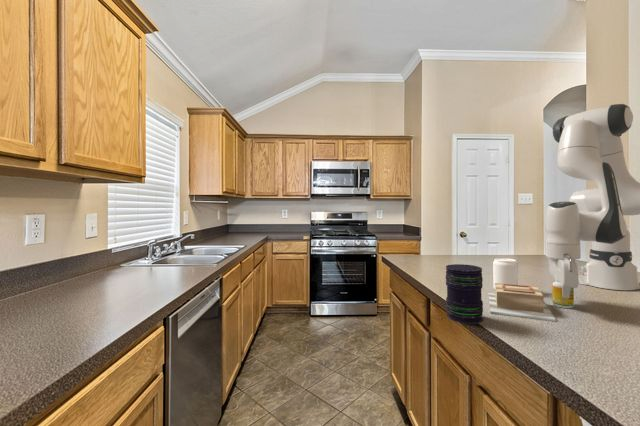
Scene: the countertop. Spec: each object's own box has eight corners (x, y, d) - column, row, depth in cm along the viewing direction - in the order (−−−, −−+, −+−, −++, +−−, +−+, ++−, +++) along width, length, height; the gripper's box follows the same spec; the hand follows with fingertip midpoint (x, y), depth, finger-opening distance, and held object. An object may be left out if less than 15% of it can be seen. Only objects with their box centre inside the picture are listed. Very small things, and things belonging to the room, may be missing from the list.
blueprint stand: (488, 294, 112) (488, 278, 112) (541, 299, 104) (541, 282, 104) (490, 313, 92) (490, 293, 92) (555, 321, 85) (555, 300, 85)
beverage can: (494, 287, 122) (494, 257, 122) (518, 289, 117) (518, 259, 117) (492, 291, 115) (491, 260, 115) (517, 295, 111) (517, 262, 110)
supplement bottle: (556, 302, 101) (556, 273, 101) (576, 306, 97) (576, 276, 97) (549, 305, 98) (549, 276, 98) (570, 309, 94) (569, 279, 94)
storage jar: (446, 321, 87) (446, 269, 86) (445, 310, 96) (444, 263, 96) (486, 325, 83) (485, 271, 83) (480, 313, 92) (479, 265, 92)
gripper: (585, 257, 87) (585, 305, 87) (566, 248, 105) (567, 288, 105) (557, 256, 90) (558, 302, 90) (544, 247, 108) (544, 286, 108)
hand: (562, 294), depth 98 cm, fingers closed on supplement bottle, 5 cm apart
